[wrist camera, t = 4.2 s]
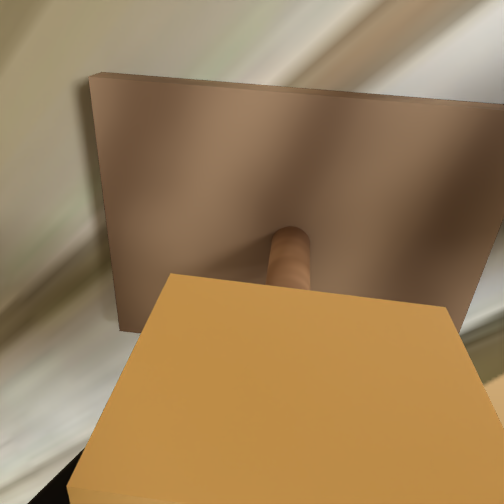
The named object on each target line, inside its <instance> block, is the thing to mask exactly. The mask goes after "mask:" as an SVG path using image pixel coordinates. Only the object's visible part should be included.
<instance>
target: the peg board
mask: <svg viewBox="0 0 504 504" xmlns="http://www.w3.org/2000/svg"><path fill="white" fill-rule="evenodd" d="M88 78H89V86H90V94H91V102H92V110H93V118H94V127H95V135H96V143H97V151H98V159H99V167H100V175H101V183H102V191H103V199H104V207H105V216H106V224H107V232H108V240H109V248H110V256H111V264H112V272H113V280H114V288H115V296H116V305H117V313H118V321H119V329H120V331H126V332H134V333H141V332H142V330H143V328H144V326H145V324H146V322H147V320H148V318H149V316H150V314H151V312H152V310H153V308H154V306H155V304H156V302H157V300H158V298H159V296H160V294H161V291H162V289H163V287H164V285H165V283H166V281H167V279H168V277H169V275H170V273H172V274H180V275H188V276H197V277H205V278H213V279H221V280H229V281H237V282H245V283H253V284H262V285H270V286H278V287H286V288H294V289H302V290H310V291H318V292H327V293H335V294H343V295H351V296H359V297H367V298H375V299H383V300H392V301H400V302H408V303H416V304H424V305H432V306H440V307H446V309H447V311H448V313H449V315H450V317H451V319H452V321H453V323H454V326H455V328H456V330H457V332H458V334H459V332H460V329H461V326H462V324H463V321H464V319H465V316H466V314H467V311H468V308H469V306H470V303H471V301H472V298H473V295H474V293H475V290H476V288H477V285H478V283H479V280H480V277H481V275H482V272H483V270H484V267H485V265H486V262H487V259H488V257H489V254H490V252H491V249H492V247H493V244H494V241H495V239H496V236H497V234H498V231H499V229H500V226H501V223H502V221H503V218H504V104H492V103H479V102H467V101H455V100H442V99H430V98H417V97H405V96H393V95H380V94H368V93H355V92H343V91H330V90H318V89H306V88H293V87H281V86H268V85H256V84H244V83H231V82H219V81H206V80H194V79H182V78H169V77H157V76H144V75H132V74H119V73H107V72H101V73H98V74H95V75H92V76H89V77H88Z"/></svg>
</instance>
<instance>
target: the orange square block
mask: <svg viewBox="0 0 504 504" xmlns="http://www.w3.org/2000/svg"><path fill="white" fill-rule="evenodd" d="M67 491H68V495H69V500H70V504H504V428H503V426H502V424H501V422H500V420H499V418H498V415H497V413H496V411H495V409H494V407H493V405H492V403H491V401H490V399H489V397H488V395H487V392H486V390H485V388H484V386H483V384H482V382H481V380H480V378H479V376H478V374H477V372H476V369H475V367H474V365H473V363H472V361H471V359H470V357H469V355H468V353H467V351H466V349H465V346H464V344H463V342H462V340H461V338H460V336H459V334H458V332H457V330H456V328H455V326H454V323H453V321H452V319H451V317H450V315H449V313H448V311H447V309H446V307H440V306H432V305H424V304H416V303H408V302H400V301H392V300H383V299H375V298H367V297H359V296H351V295H343V294H335V293H327V292H318V291H310V290H302V289H294V288H286V287H278V286H270V285H262V284H253V283H245V282H237V281H229V280H221V279H213V278H205V277H197V276H188V275H180V274H172V273H170V275H169V277H168V279H167V281H166V283H165V285H164V287H163V289H162V291H161V294H160V296H159V298H158V300H157V302H156V304H155V306H154V308H153V310H152V312H151V314H150V316H149V318H148V320H147V322H146V324H145V326H144V328H143V330H142V332H141V335H140V337H139V339H138V341H137V343H136V345H135V347H134V349H133V351H132V353H131V355H130V357H129V359H128V361H127V363H126V365H125V367H124V369H123V371H122V373H121V375H120V378H119V380H118V382H117V384H116V386H115V388H114V390H113V392H112V394H111V396H110V398H109V400H108V402H107V404H106V406H105V408H104V410H103V412H102V414H101V416H100V418H99V421H98V423H97V425H96V427H95V429H94V431H93V433H92V435H91V437H90V439H89V441H88V443H87V445H86V447H85V449H84V451H83V453H82V455H81V457H80V459H79V461H78V464H77V466H76V468H75V470H74V472H73V474H72V476H71V478H70V480H69V482H68V484H67Z"/></svg>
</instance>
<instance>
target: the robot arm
mask: <svg viewBox="0 0 504 504" xmlns="http://www.w3.org/2000/svg"><path fill="white" fill-rule="evenodd" d="M84 449H85V448H84ZM84 449H83V450H82V451H81V452H80V453H79V454H78V455H77V456H76V457H75V458H74V459H73V460H72V461H71V462H70V463H69V464H68V465H67V466H66V467H65V468H63V469H62V470H61V471H60V472H59V473H58V474H57V475H56V476H55V477H54V478H53V479H52V480H51V481H50V482H49V483H48V484H47V485H46V486H45V487H44V488H43V489H42V490H41V491H40V492H39V493H38V494H37V495H36V496H35V497H34V498H33V499H32V500H31V501H30V502H29V503H28V504H70V500H69V495H68V491H67V484H68V482H69V480H70V478H71V476H72V474H73V472H74V470H75V468H76V466H77V464H78V461H79V459H80V457H81V455H82V453H83V451H84Z"/></svg>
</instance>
